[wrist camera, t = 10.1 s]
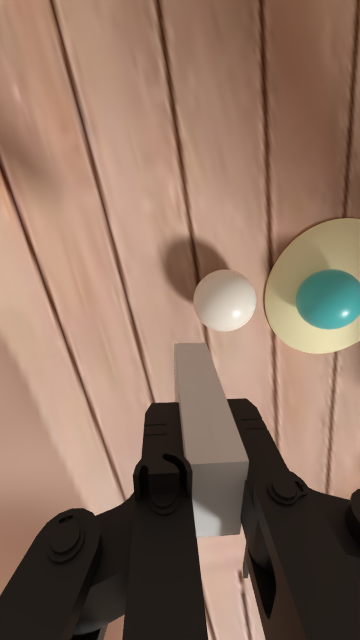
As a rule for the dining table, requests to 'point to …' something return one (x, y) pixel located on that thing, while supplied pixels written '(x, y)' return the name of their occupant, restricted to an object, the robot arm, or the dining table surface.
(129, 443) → the dining table surface
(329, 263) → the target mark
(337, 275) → the teal ball
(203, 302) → the cue ball
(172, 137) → the dining table surface
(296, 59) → the dining table surface
